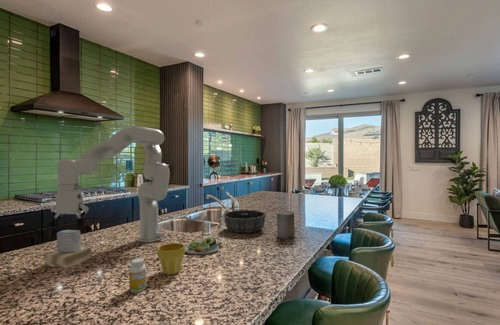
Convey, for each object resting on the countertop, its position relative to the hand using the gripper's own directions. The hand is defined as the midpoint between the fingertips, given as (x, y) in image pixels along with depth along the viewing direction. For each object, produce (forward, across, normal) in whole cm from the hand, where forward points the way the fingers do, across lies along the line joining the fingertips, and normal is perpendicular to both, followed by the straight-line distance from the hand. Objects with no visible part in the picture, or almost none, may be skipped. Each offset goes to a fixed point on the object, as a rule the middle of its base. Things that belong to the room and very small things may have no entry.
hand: (70, 226), depth 121 cm
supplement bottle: (+15, -43, +23) cm, 51 cm away
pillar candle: (+17, -95, -44) cm, 106 cm away
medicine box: (+11, 0, +1) cm, 11 cm away
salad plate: (+16, -54, -20) cm, 60 cm away
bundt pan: (+17, -70, -58) cm, 92 cm away
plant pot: (+16, -49, +8) cm, 52 cm away
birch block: (+16, 0, +1) cm, 16 cm away
